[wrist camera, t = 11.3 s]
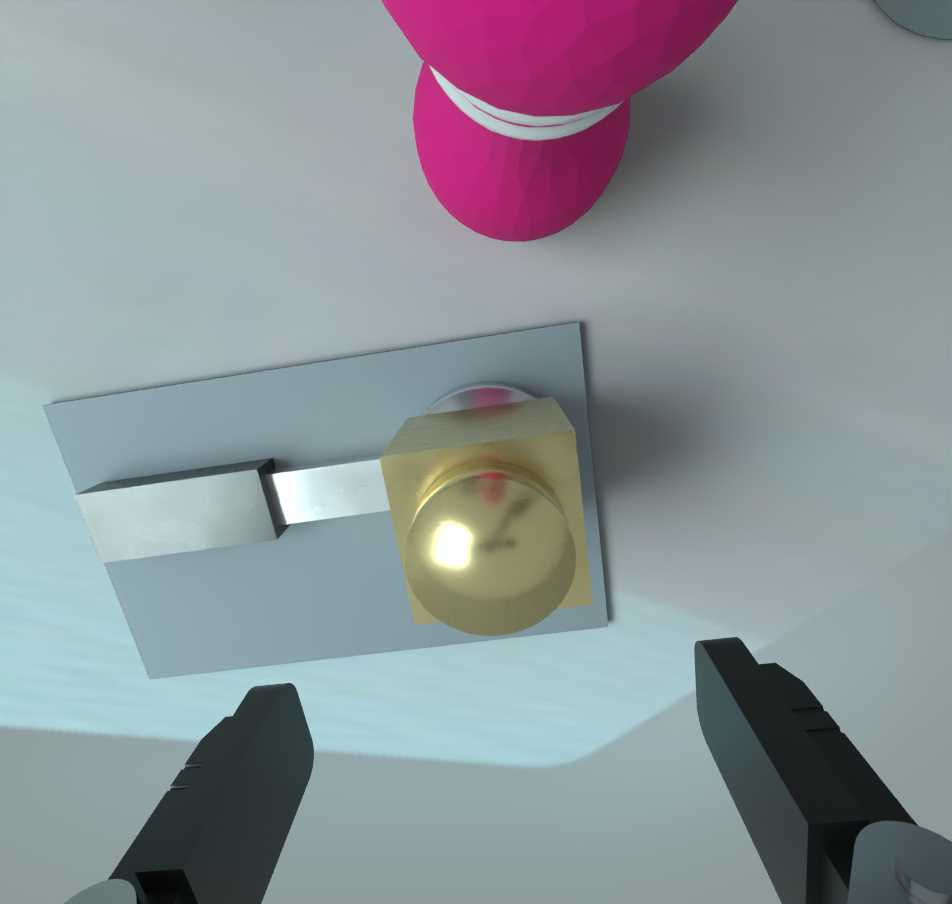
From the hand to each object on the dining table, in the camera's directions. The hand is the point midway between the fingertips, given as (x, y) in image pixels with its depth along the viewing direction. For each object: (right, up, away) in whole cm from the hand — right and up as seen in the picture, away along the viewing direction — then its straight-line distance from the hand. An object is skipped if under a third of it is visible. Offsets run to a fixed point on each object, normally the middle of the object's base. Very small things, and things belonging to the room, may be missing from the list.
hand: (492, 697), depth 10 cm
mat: (-7, +1, +16) cm, 18 cm away
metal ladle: (-7, +3, +16) cm, 17 cm away
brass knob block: (0, +4, +13) cm, 14 cm away
